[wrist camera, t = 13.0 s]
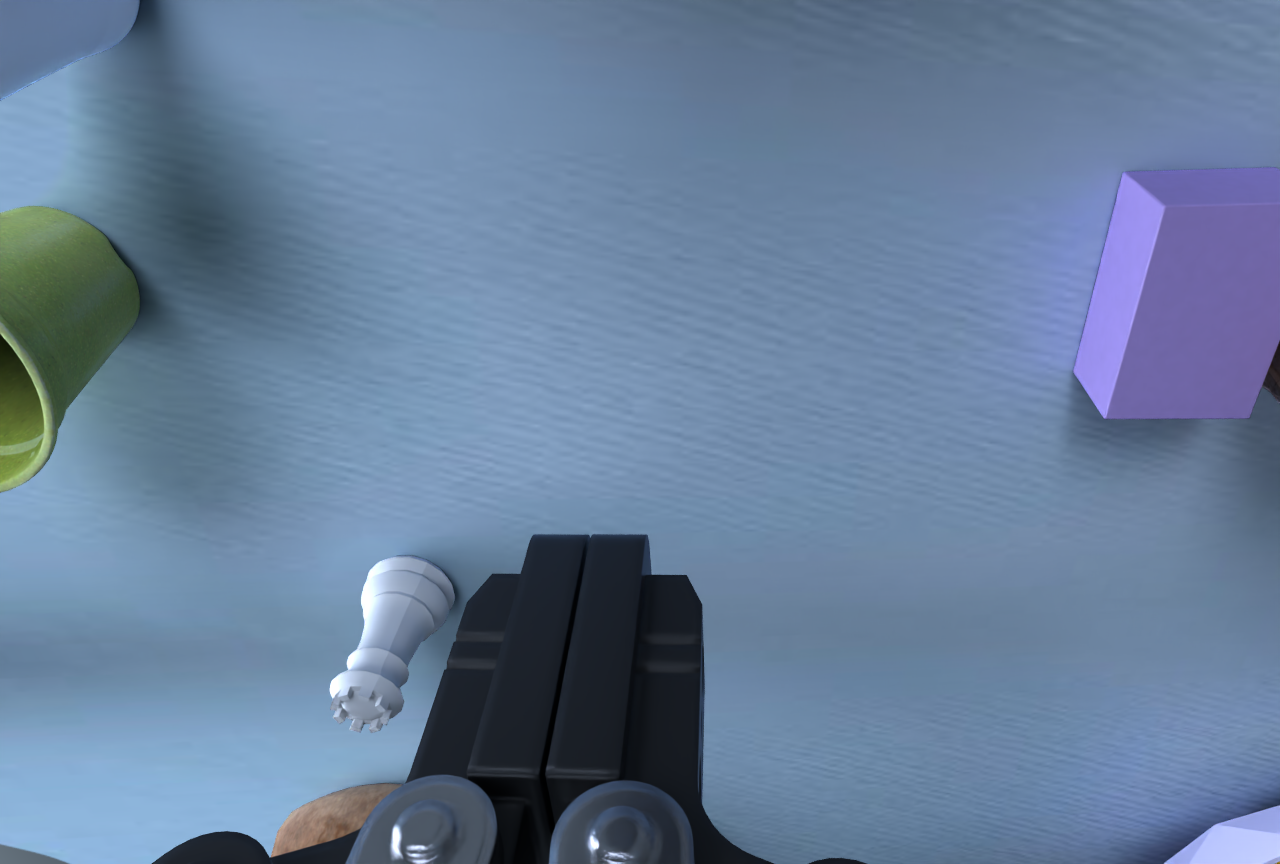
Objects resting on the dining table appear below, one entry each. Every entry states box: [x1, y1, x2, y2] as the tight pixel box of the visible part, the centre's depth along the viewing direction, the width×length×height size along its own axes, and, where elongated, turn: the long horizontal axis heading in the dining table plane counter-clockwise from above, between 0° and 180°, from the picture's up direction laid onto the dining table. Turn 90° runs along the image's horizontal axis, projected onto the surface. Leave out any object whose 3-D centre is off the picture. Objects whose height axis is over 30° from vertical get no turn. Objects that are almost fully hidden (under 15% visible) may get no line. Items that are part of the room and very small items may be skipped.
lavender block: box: [1073, 167, 1280, 419], centre depth 31 cm, size 8×5×4 cm, turn 3°
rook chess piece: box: [330, 556, 455, 733], centre depth 41 cm, size 4×4×8 cm
